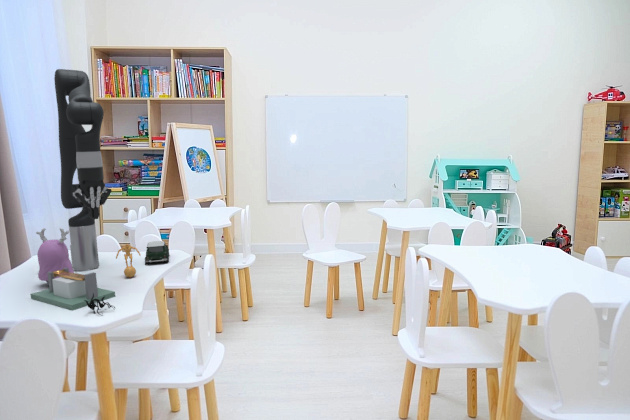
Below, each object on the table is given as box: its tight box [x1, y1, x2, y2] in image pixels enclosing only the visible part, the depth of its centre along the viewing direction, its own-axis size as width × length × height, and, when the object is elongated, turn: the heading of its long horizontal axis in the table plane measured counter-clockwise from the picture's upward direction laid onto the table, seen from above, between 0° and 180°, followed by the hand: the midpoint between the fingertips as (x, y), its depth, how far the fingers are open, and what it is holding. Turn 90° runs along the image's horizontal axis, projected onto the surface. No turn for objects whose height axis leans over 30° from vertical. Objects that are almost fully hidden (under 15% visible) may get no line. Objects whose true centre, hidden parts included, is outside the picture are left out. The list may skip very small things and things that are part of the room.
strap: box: [53, 269, 85, 281], centre depth 147 cm, size 17×3×2 cm, turn 58°
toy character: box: [35, 227, 75, 285], centre depth 162 cm, size 12×10×20 cm
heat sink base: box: [30, 268, 116, 311], centre depth 148 cm, size 23×14×9 cm, turn 58°
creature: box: [84, 293, 116, 316], centre depth 134 cm, size 8×5×8 cm
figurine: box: [115, 243, 141, 278], centre depth 170 cm, size 8×6×12 cm
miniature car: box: [144, 240, 170, 265], centre depth 194 cm, size 9×18×8 cm, turn 16°
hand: (94, 218), depth 153 cm, fingers closed
